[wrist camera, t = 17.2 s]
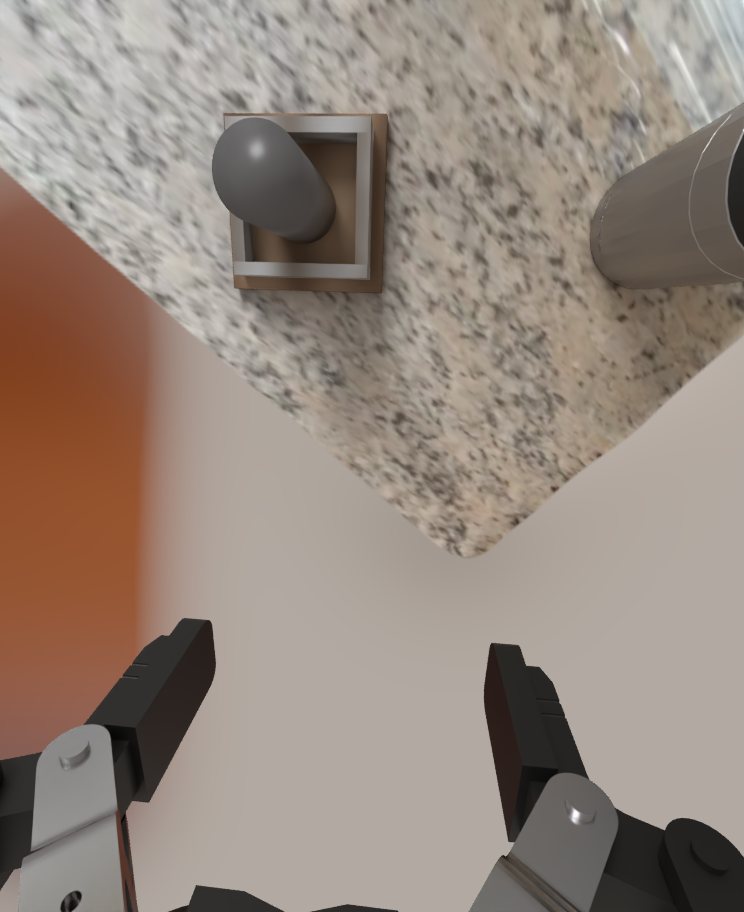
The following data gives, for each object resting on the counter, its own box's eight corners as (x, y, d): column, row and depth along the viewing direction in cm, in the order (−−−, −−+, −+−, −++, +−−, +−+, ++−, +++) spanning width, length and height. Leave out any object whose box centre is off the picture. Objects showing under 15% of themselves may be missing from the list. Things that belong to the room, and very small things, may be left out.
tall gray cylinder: (337, 171, 36) (304, 120, 25) (334, 245, 38) (302, 228, 27) (271, 167, 37) (209, 114, 25) (271, 241, 39) (214, 221, 27)
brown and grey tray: (387, 118, 36) (385, 99, 33) (381, 292, 40) (379, 291, 37) (228, 118, 37) (210, 99, 34) (238, 288, 41) (223, 287, 38)
